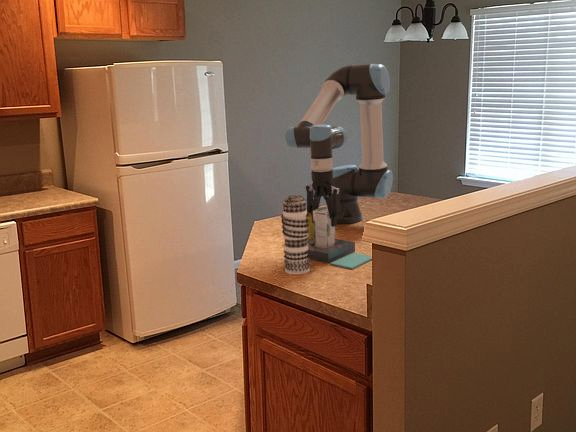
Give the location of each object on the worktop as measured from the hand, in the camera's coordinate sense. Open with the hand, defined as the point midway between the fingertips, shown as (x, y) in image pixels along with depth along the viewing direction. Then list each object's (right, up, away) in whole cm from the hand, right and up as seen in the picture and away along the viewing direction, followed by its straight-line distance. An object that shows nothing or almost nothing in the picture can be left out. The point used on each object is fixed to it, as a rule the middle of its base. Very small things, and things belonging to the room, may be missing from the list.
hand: (324, 233), depth 226 cm
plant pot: (-3, -3, +22) cm, 22 cm away
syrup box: (0, -5, +1) cm, 6 cm away
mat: (+9, -9, -9) cm, 16 cm away
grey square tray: (0, -7, +1) cm, 7 cm away
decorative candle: (-10, -12, -15) cm, 22 cm away
